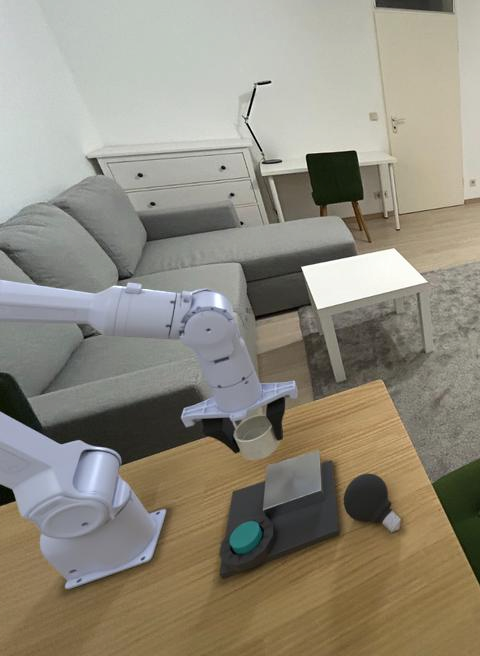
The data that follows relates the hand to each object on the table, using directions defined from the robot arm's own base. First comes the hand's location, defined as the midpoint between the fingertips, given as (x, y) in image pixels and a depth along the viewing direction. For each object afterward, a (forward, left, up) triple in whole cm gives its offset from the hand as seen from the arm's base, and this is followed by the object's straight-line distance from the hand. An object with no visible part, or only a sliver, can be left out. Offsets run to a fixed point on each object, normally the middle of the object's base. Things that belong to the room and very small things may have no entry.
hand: (259, 441), depth 61 cm
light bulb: (+15, -13, -9) cm, 21 cm away
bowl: (0, 0, -1) cm, 1 cm away
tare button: (-2, -11, -6) cm, 13 cm away
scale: (+2, -8, -9) cm, 12 cm away
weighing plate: (+4, -5, -9) cm, 11 cm away
